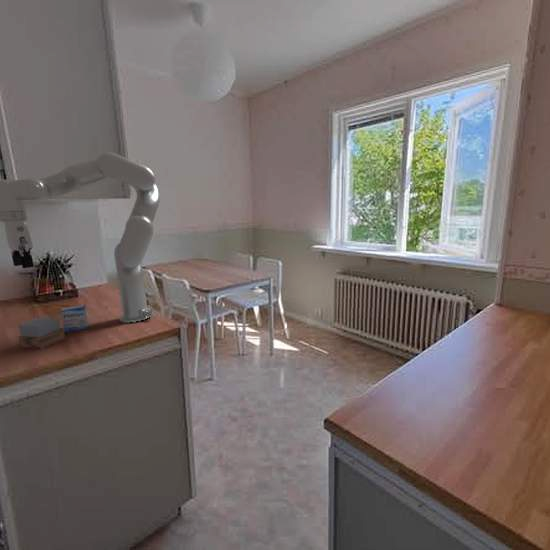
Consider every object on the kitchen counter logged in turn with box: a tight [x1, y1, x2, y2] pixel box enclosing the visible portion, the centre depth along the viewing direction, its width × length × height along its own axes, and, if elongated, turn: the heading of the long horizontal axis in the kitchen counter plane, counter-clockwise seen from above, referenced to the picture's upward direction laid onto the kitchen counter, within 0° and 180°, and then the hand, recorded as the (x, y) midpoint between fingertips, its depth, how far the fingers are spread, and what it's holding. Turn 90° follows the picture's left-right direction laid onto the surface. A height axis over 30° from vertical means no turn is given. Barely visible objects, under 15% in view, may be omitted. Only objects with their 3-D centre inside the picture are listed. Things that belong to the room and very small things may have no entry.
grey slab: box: [18, 316, 61, 338], centre depth 117 cm, size 8×8×4 cm
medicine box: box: [60, 304, 89, 334], centre depth 129 cm, size 8×4×9 cm, turn 117°
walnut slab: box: [18, 327, 66, 349], centre depth 118 cm, size 9×9×4 cm
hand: (23, 266), depth 120 cm, fingers open, 9 cm apart
